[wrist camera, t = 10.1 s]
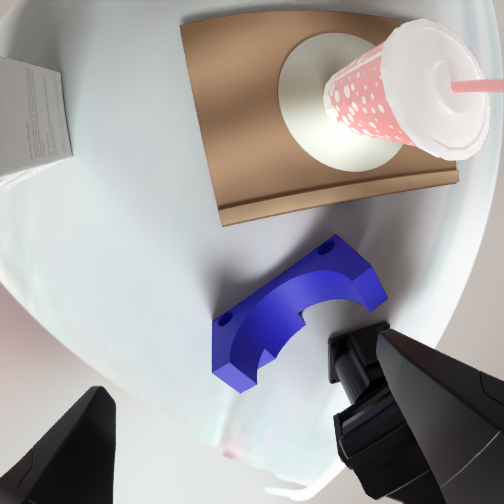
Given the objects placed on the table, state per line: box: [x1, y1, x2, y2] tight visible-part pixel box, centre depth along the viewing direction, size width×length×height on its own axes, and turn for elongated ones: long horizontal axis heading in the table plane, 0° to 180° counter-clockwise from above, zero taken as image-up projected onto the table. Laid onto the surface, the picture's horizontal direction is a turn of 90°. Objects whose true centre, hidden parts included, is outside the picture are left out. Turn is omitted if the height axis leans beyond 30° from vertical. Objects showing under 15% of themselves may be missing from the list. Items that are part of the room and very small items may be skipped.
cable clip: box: [212, 234, 388, 393], centre depth 20 cm, size 12×4×6 cm, turn 127°
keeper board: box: [180, 10, 459, 227], centre depth 16 cm, size 14×20×2 cm
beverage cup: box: [323, 18, 504, 161], centre depth 9 cm, size 6×6×14 cm
